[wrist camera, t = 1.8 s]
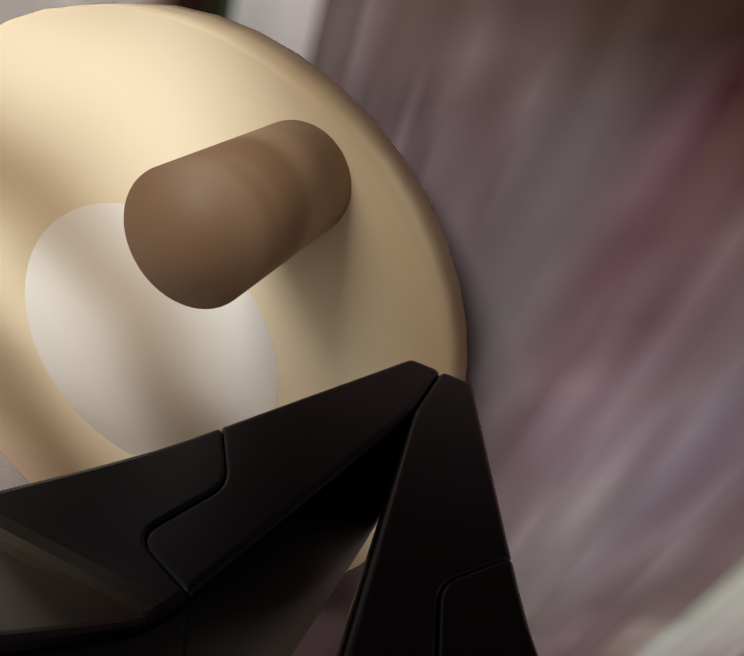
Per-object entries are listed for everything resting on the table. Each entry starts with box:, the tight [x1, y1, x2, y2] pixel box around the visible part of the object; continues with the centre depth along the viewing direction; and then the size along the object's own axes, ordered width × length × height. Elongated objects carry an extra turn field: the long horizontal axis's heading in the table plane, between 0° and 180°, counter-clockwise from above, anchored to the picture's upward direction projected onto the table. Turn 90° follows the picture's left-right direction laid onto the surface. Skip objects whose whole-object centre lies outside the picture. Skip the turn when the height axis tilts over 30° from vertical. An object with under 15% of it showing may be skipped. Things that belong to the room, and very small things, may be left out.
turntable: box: [0, 3, 467, 571], centre depth 17 cm, size 16×16×6 cm
